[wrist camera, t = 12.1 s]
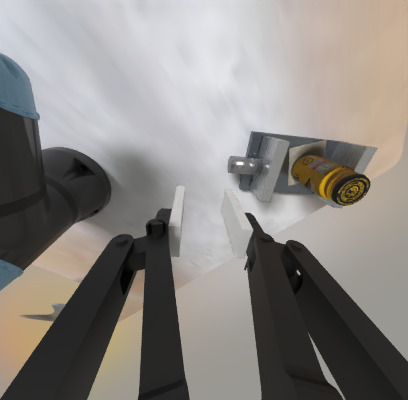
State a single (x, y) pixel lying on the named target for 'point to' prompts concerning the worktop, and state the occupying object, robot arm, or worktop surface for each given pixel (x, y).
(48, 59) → the worktop surface
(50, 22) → the worktop surface
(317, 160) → the condiment
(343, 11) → the worktop surface
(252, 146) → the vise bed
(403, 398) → the robot arm
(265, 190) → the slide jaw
